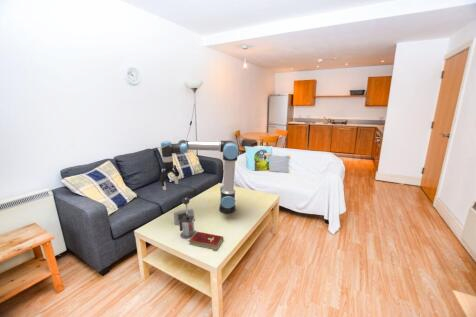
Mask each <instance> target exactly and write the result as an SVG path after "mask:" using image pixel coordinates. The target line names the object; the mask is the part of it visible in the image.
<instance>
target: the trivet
mask: <svg viewBox="0 0 476 317" xmlns="http://www.w3.org/2000/svg"><path fill="white" fill-rule="evenodd" d="M196 232H197V231H196V229H194V234H195V233H196ZM180 238H182V239H184V240H190V239H191V237H184V236H183V231H181V233H180Z"/></svg>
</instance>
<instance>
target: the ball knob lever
mask: <svg viewBox="0 0 476 317" xmlns="http://www.w3.org/2000/svg"><path fill="white" fill-rule="evenodd" d="M189 203H190V198H189V197H187V196H185V197H183V198H182V204H184V205H185V209H186V217H187V219H188V209H189V208H188V205H189Z"/></svg>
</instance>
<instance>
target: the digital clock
mask: <svg viewBox="0 0 476 317" xmlns="http://www.w3.org/2000/svg"><path fill="white" fill-rule="evenodd" d="M194 213H195V212H194V208H193V207H191V208H188V216H194V218H193V221H194V222H195V220H196V219H195V218H196V217H195V214H194ZM184 216H186V208H185V209H181V210H177V211H174V212H173V220H174V225H175V226H180V223H179V221H180V220H182V218H183V217H184Z"/></svg>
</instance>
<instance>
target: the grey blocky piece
mask: <svg viewBox="0 0 476 317" xmlns="http://www.w3.org/2000/svg"><path fill="white" fill-rule="evenodd" d="M193 218H195V215H194V216H188V219H187V217H186V216H184V217H183V218H182V220H180V221H179V223H180V225H179V231H180V232H183V236H184V237H192V236H193V235H194V230H195V221H193Z"/></svg>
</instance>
